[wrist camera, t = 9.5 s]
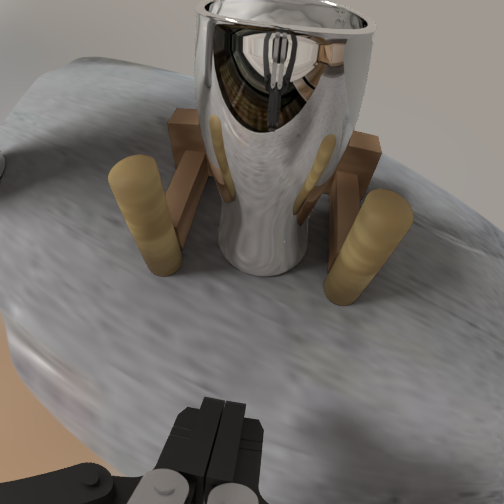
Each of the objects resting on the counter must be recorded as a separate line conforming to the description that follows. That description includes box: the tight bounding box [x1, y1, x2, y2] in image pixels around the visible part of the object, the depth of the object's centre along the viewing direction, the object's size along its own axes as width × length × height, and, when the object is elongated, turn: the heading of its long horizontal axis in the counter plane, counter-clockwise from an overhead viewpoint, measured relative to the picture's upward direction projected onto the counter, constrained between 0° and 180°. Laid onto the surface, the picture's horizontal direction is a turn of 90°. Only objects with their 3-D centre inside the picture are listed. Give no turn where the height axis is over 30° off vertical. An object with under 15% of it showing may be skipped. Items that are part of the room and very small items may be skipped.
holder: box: [108, 108, 414, 306], centre depth 18 cm, size 15×11×8 cm
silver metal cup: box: [194, 0, 376, 277], centre depth 15 cm, size 7×7×15 cm
